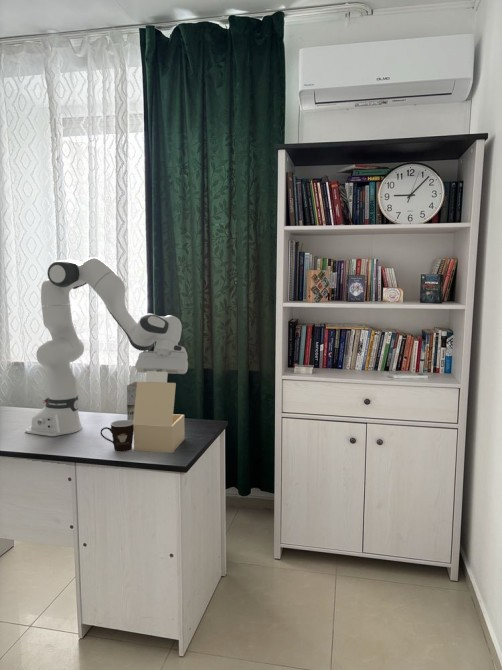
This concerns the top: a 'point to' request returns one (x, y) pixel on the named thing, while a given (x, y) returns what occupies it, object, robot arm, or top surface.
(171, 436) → the carton
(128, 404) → the coffee box
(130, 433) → the coffee mug
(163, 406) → the flap
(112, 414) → the top surface
